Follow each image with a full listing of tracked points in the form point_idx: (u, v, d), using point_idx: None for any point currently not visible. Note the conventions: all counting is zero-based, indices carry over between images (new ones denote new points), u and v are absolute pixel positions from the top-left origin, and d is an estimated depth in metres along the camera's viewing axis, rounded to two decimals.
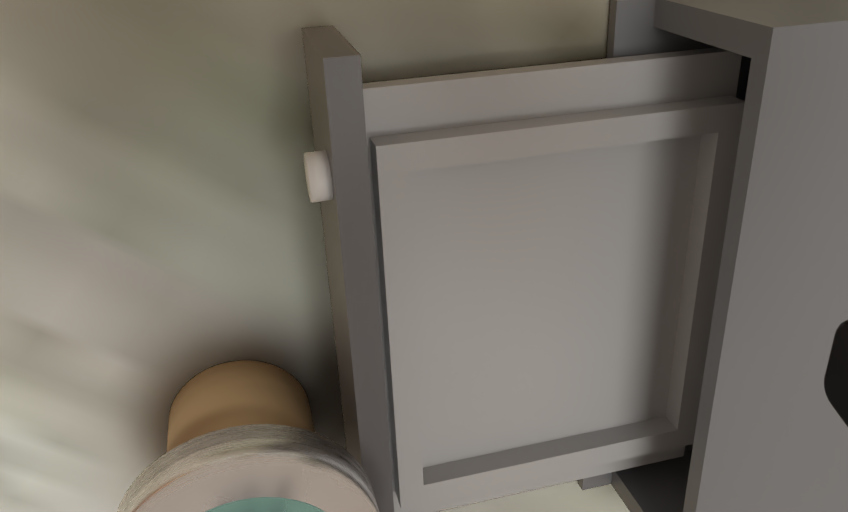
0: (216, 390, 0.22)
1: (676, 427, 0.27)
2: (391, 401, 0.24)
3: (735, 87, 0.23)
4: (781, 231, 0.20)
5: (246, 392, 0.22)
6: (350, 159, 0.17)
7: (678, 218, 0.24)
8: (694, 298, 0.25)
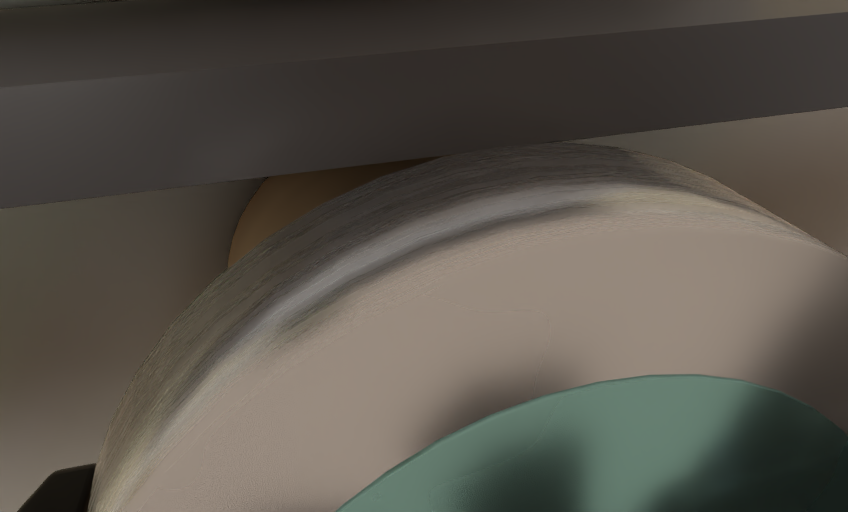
0: None
1: None
2: None
3: None
4: None
5: None
6: None
7: None
8: None
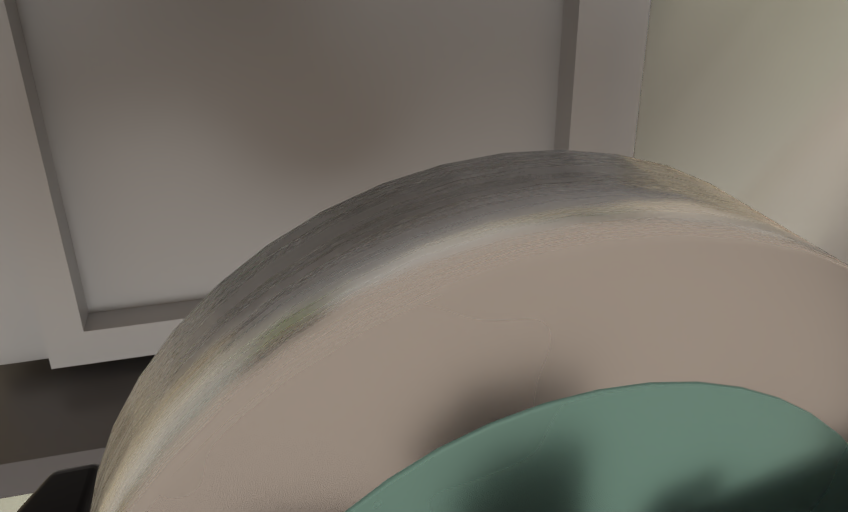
0: None
1: None
2: None
3: None
4: None
5: None
6: (15, 479, 0.15)
7: None
8: None
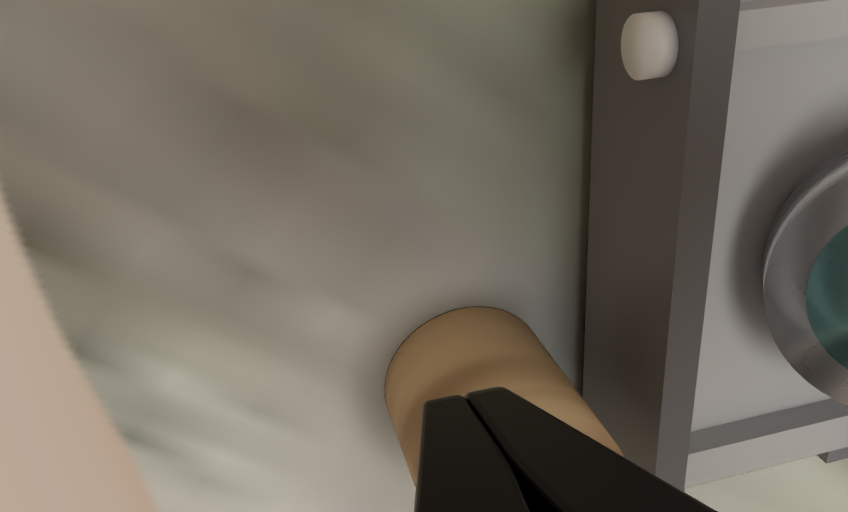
0: (459, 340, 0.18)
1: None
2: None
3: None
4: None
5: (499, 341, 0.18)
6: (718, 10, 0.13)
7: None
8: None
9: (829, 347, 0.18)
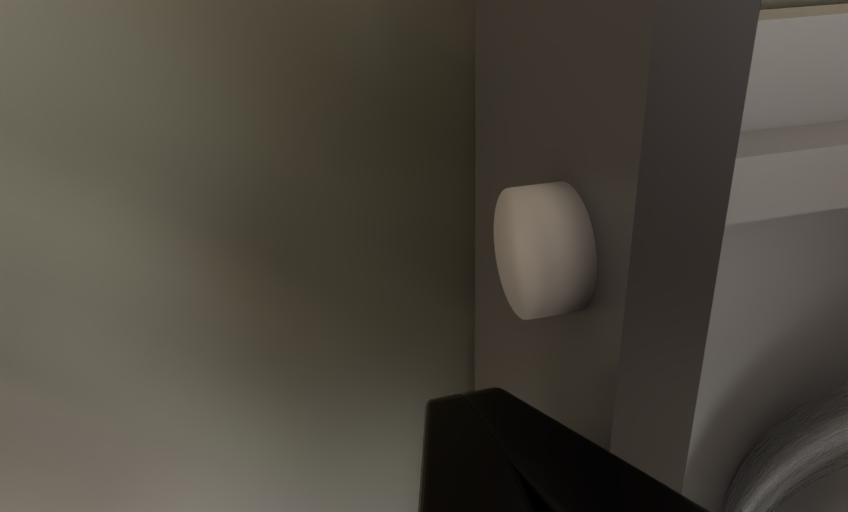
0: None
1: None
2: None
3: None
4: None
5: None
6: (681, 215, 0.06)
7: None
8: None
9: None
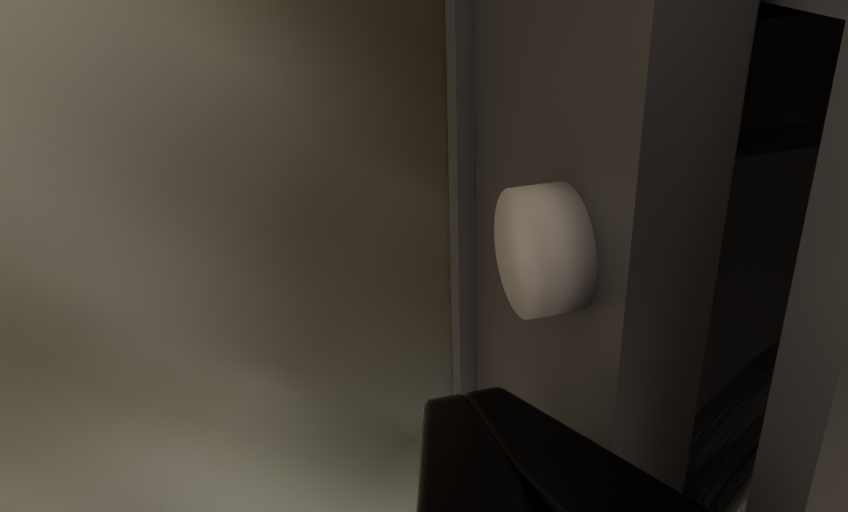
0: None
1: None
2: None
3: None
4: None
5: None
6: (681, 215, 0.06)
7: None
8: None
9: None
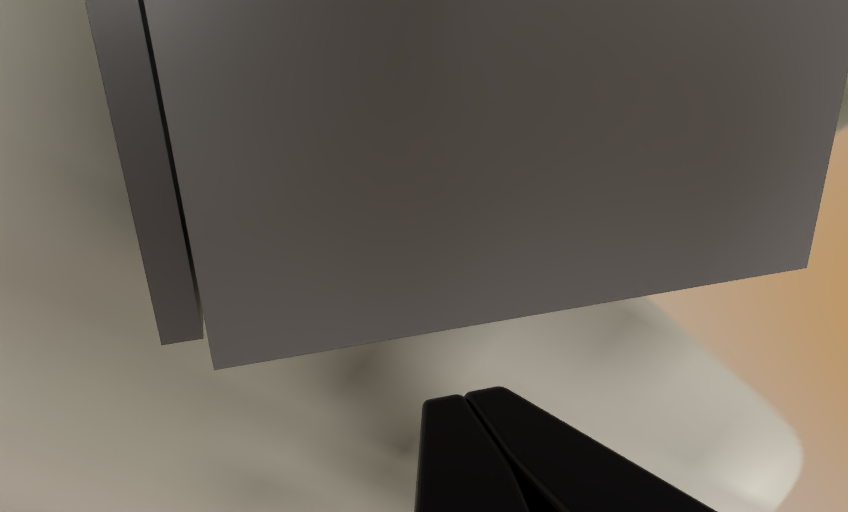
0: None
1: None
2: None
3: None
4: None
5: None
6: None
7: None
8: None
9: None
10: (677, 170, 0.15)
